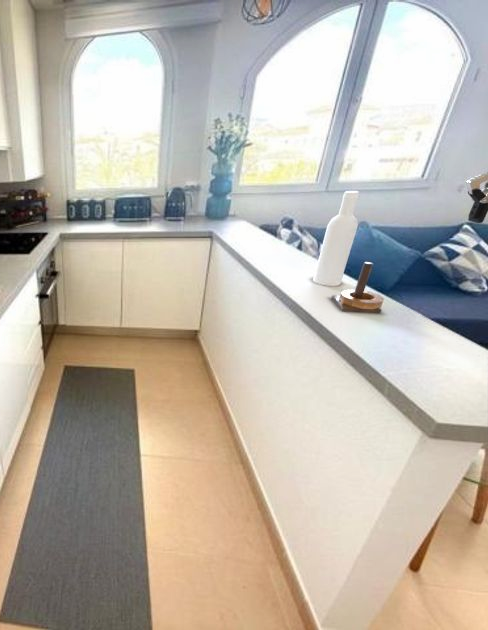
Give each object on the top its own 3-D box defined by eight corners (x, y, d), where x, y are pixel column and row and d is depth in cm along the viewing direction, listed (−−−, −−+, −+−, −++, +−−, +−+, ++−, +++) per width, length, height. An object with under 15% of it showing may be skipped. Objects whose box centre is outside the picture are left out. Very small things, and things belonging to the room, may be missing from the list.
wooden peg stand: (365, 301, 104) (380, 258, 98) (379, 314, 96) (397, 268, 90) (330, 299, 107) (343, 257, 101) (342, 312, 99) (356, 267, 93)
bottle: (346, 286, 115) (375, 192, 102) (322, 287, 115) (348, 193, 102) (330, 277, 122) (355, 189, 109) (307, 279, 122) (330, 190, 109)
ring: (370, 296, 104) (372, 290, 103) (388, 309, 95) (391, 303, 94) (334, 295, 106) (335, 289, 105) (348, 308, 98) (350, 301, 97)
